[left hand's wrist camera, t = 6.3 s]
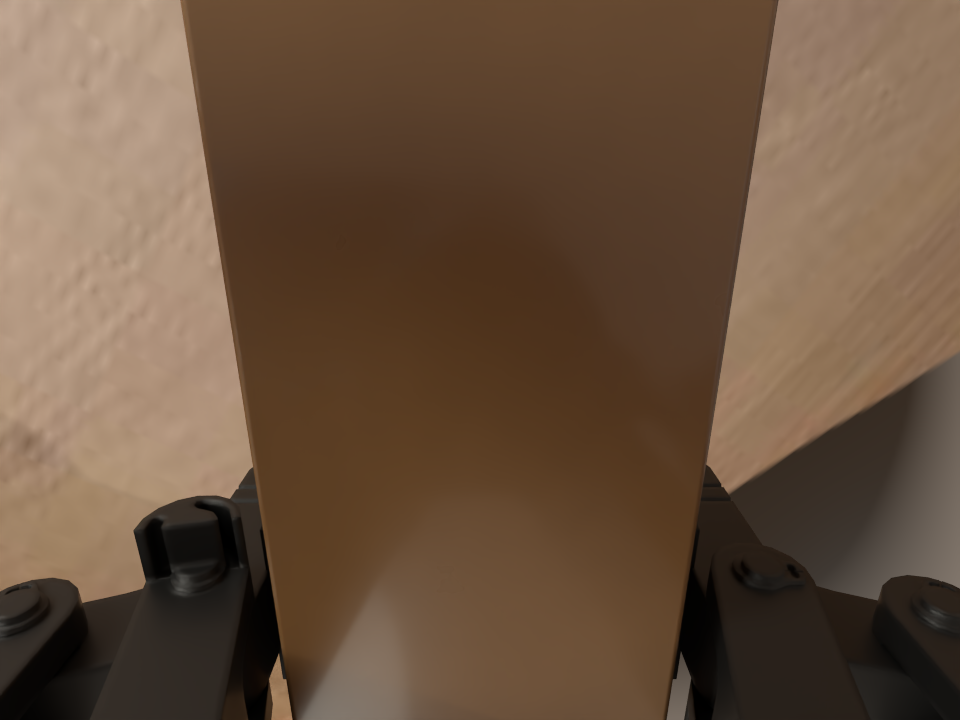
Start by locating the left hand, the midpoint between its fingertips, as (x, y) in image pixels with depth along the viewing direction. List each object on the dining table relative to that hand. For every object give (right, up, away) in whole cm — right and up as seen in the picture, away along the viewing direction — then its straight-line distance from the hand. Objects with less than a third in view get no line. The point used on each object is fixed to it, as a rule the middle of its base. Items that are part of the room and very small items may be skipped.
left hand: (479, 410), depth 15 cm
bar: (0, +9, -3) cm, 9 cm away
